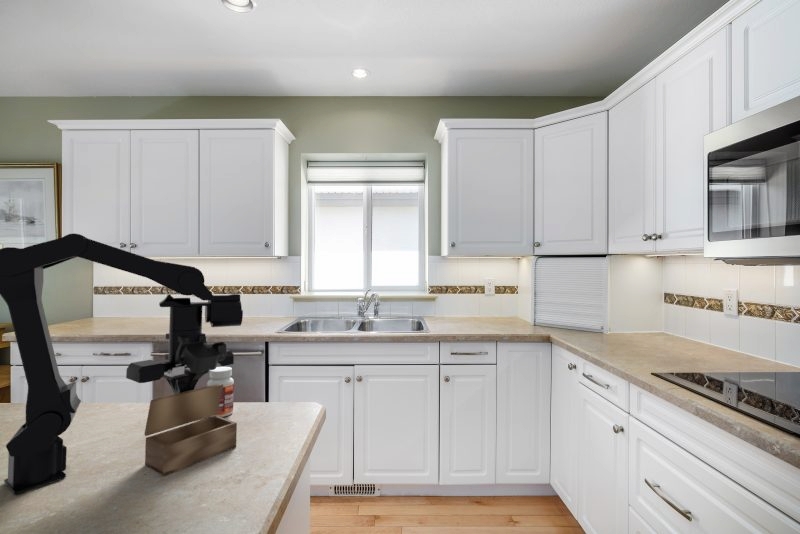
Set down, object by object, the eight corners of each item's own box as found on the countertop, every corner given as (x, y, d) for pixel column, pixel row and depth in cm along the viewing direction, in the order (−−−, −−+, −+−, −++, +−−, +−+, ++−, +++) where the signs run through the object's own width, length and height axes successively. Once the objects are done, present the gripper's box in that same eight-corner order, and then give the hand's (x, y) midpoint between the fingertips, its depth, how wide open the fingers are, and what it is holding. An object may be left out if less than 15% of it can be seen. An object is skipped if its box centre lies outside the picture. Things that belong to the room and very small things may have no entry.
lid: (152, 402, 71) (150, 400, 72) (145, 436, 72) (144, 434, 73) (223, 384, 83) (221, 382, 83) (216, 414, 84) (215, 412, 84)
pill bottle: (229, 418, 96) (230, 371, 96) (202, 418, 95) (203, 372, 95) (236, 409, 102) (237, 365, 102) (211, 410, 101) (212, 366, 101)
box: (164, 476, 68) (165, 447, 68) (144, 465, 72) (145, 437, 72) (236, 447, 80) (236, 422, 80) (216, 438, 84) (216, 415, 84)
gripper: (156, 340, 66) (154, 432, 66) (251, 327, 82) (249, 402, 82) (126, 332, 72) (123, 417, 72) (219, 322, 88) (217, 392, 88)
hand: (183, 406), depth 78 cm, fingers closed, pressing on lid
